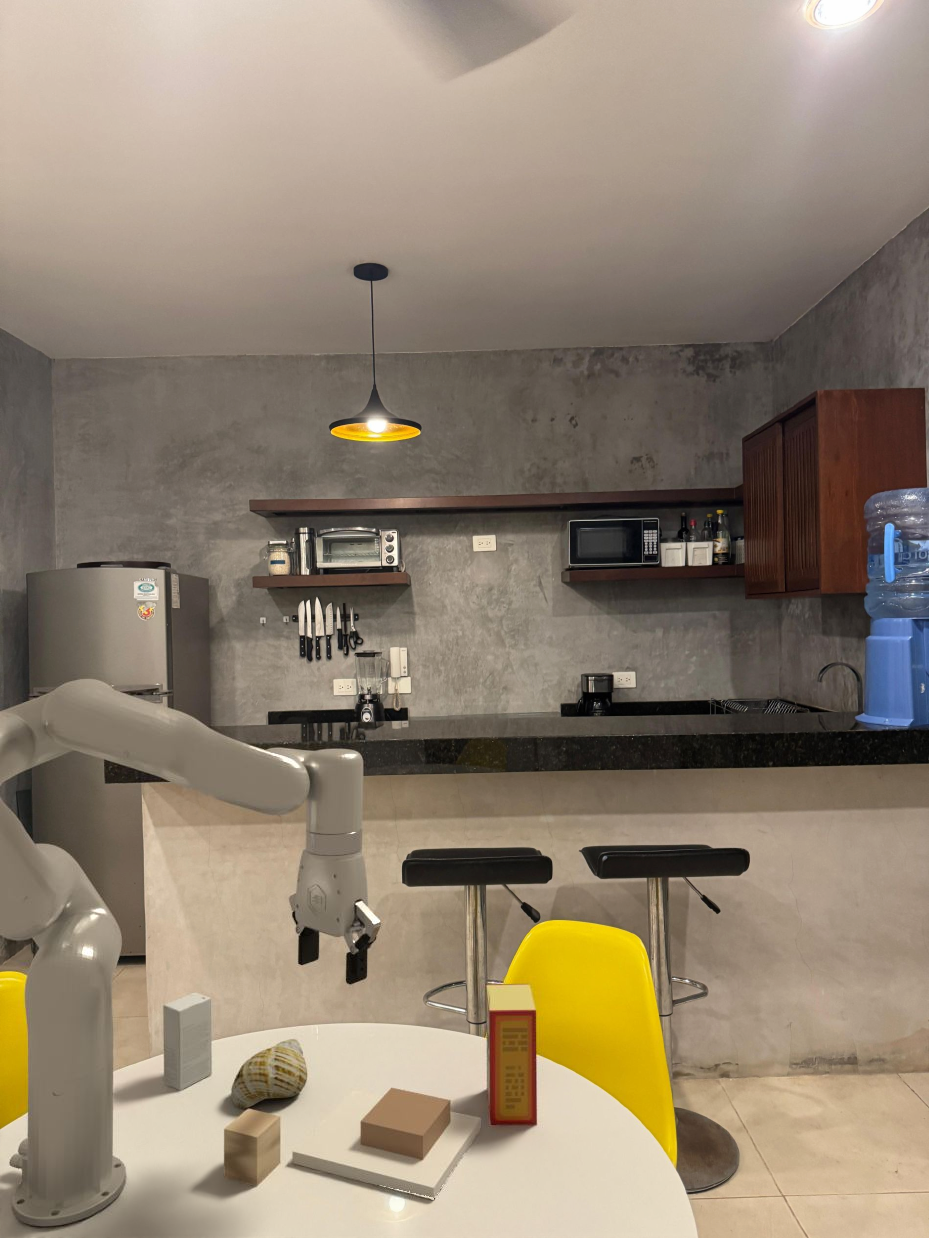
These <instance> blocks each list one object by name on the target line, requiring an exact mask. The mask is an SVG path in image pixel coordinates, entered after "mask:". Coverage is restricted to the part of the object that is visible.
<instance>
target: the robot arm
mask: <svg viewBox="0 0 929 1238" xmlns="http://www.w3.org/2000/svg"><path fill="white" fill-rule="evenodd" d="M73 751H76V752H78V753H82V754H85V755H89V756H92V757H95V758H98V759H101V760H106V761H109V762H112V763H116V764H118V765H121V766H125V767H127V768H132V769H135V770H138V771H141V772H143V773H147V774H150V775H153V776H156V777H158V778H161V779H164V780H166V781H169V782H170V783H172V784H175V785H178V786H181V787H183V788H186V789H189V790H192V791H194V792H197V793H199V794H202V795H205V796H207V797H210V798H212V799H215V800H218V801H219V802H220V801H221V802H224V803H227V804H230V805H233V806H236V807H241V808H243V809H247V810H250V811H253V812H256V813H259V814H264V815H269V816H285V815H288V814H291V813H293V812H295V811H297V810H298V809H299V808H300V807H301V806H303V804H304V802H305V803H306V804H305V805H306V809H305V814H306V815H305V849H303V850H302V852H301V856H300V860H299V866H298V872H297V877H296V878H297V880H296V891H295V893H293V894H291V895H290V896H289V897H288V901H289V905H290V909H291V911H292V912H291V918H292V919H293V921H294V924H295V927H294V928H295V932H296V934H297V935H298V939H297V940H298V943H297V949H298V951H297V953H298V954H297V964H298V965H300V966H305V965H307V964H310V963H313V962H317V960H319V958H320V933H323V934H325V935H327V936H331V937H334V938H340V937H343V938H344V941H345V942H346V945H347V947H348V950H349V951H348V952H346V955H345V956H346V957H345V983H346V984H348V985H349V986H350V985H353V984H355V983H358V982H361V981H364V980H366V979H367V977H368V950H369V949H371V948H372V945H373V944H374V943H375V942H376V940H377V936H378V934H379V930H380V928H381V925H382V923H381V920H380V919H379V918H378V917H377V916H376V915H375V914H374V913H373V911H372V910H371V909H370V908H369V906H368V905H369V898H368V897H369V895H368V894H369V893H368V879H367V871H366V870H367V869H366V863H365V862H366V861H365V856H364V854H363V815H364V813H363V810H364V809H363V807H364V806H363V805H364V803H363V802H364V801H363V800H364V760H363V757H362V754H361V753H360V752H359V751H356V750H354V749H347V748H326V749H325V748H324V749H319V750H318V749H317V750H304V749H296V748H288V747H287V748H286V747H270V748H267V749H263V748H260V747H257V746H255V745H251V744H248V743H245V742H242V741H239V740H236V739H234V738H231V737H228V736H227V735H224V734H222V733H220V732H219V731H218V732H217V731H216V730H214V729H212V728H210V727H208V726H207V725H206V724H204V723H202V722H201V721H200V720H198V719H197V718H195V717H193V716H191V715H189V714H187V713H186V712H183V711H180V710H177V709H174V708H171V707H167V706H165V705H161V704H157V703H154V702H152V701H151V702H150V701H147V700H145V699H143V698H139V697H137V696H136V697H135V696H132V695H129V694H128V693H126V692H122V691H118V690H115V689H114V688H113V687H112V686H111V685H109V684H108V683H106V682H104V681H102V680H99V679H95V678H79V679H76V680H71V681H67V682H65V683H63V684H61V685H60V686H57V688H55V689H54V690H53V691H50V692H47V693H46V694H43V695H40V696H37V697H35V698H32V699H31V700H27V701H25V702H22V703H20V704H17V705H13V706H11V707H9V708H6V709H3V710H0V786H2V784H3V783H4V782H6V781H7V780H10V779H11V778H13V777H14V776H16V775H19V774H20V773H23V772H24V771H27V770H29V769H32V768H34V767H37V766H39V765H42V764H44V763H46V762H49V761H51V760H54V759H56V758H58V757H61V756H64V755H66V754H69V753H71V752H73ZM354 934H356V935H357V936H358V937H357V938H358V939H357V940H356V938H355V936H354ZM0 936H1V937H3V938H4V939H8V940H11V941H25V940H29V939H33V942H35V944H36V946H37V947H38V948H39V949H37V952H36V954H35V955H34V957H33V958H32V960H31V964H30V966H29V967H28V972H27V974H26V978H25V986H24V1007H25V1016H26V1017H25V1018H26V1026H27V1076H28V1077H27V1137H26V1138H24V1139H23V1140H22V1141H21V1142H20V1144H19V1146H18V1148H17V1153H14V1154H13V1155H12V1156H11V1158H9V1167H13V1168H14V1169H20V1170H21V1182H20V1183H19V1184H18V1185H17V1187H16V1188H15V1190H14V1191H13V1195H12V1198H11V1199H12V1200H11V1201H12V1202H11V1203H12V1206H11V1209H12V1212H13V1215H14V1216H15V1218H16V1219H17V1220H19V1221H21V1222H22V1223H24V1224H28V1225H30V1226H35V1227H55V1226H63V1225H66V1224H72V1223H75V1222H78V1221H80V1220H83V1219H86V1218H88V1217H90V1216H92V1215H94V1214H96V1213H98V1212H99V1211H101V1210H104V1208H106V1207H107V1206H108V1205H109V1204H111V1203H113V1201H114V1200H115V1199H116V1198H117V1197H118V1196H119V1195H120V1194H121V1192H122V1191H123V1189H124V1187H125V1185H126V1181H127V1171H126V1170H127V1168H126V1166H125V1164H124V1162H123V1161H122V1160H121V1159H120V1158H118V1157H116V1156H114V1154H113V1153H114V1152H113V1149H114V1147H113V1145H114V1143H113V1142H114V1137H113V1136H114V1135H113V1134H114V1133H113V1132H114V1130H113V1129H114V1128H113V1127H114V1015H113V1012H114V1009H113V988H114V987H113V983H114V977H115V973H116V969H117V965H118V961H119V958H120V955H121V952H122V945H123V938H122V932H121V928H120V927H119V924H118V922H117V921H116V919H115V917H114V915H113V914H112V912H111V911H110V909H109V907H108V906H107V904H106V903H105V901H104V900H103V898H102V897H101V895H100V894H99V892H98V891H97V890H96V888H95V886H94V885H93V884H92V882H91V881H90V879H89V877H88V876H87V874H86V873H85V872H84V870H83V868H82V867H81V866H80V864H79V863H78V862H77V860H76V859H75V858H74V857H73V856H72V855H71V854H70V853H69V852H67V851H66V850H64V849H63V848H62V847H59V846H57V845H54V844H49V843H35V842H34V841H33V839H32V838H31V836H30V835H29V833H28V832H27V831H26V829H25V827H24V826H23V823H22V822H21V820H20V819H19V818H18V816H17V815H16V814H15V813H14V812H13V811H12V810H11V808H10V807H8V805H7V804H6V803H5V802H4V801H3V798H2V797H1V796H0Z"/></svg>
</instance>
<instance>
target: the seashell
mask: <svg viewBox="0 0 929 1238" xmlns="http://www.w3.org/2000/svg"><path fill="white" fill-rule="evenodd" d="M307 1081H308V1066H307V1063H306V1060H305V1057H304V1052H303V1049H302V1047H301V1044H300V1043H299V1041H298V1039H296V1038H290V1039H287V1040H284V1041H283V1040H282V1041H280V1042H279V1043H276V1044H275V1045H274V1046H271V1047H269V1048H265V1049H263V1050H261V1051H258V1052H257V1053H255V1054H254V1055H252V1056H251V1057H250V1058H249V1059H247V1060H246V1061H245V1062H244V1063H243V1064H242V1065H241V1066H240V1068H239V1070H238V1072H237V1074H236V1076H235V1078H234V1081H233V1083H232V1086H231V1090H230V1091H231V1099H232V1103H233V1105H234V1106H235V1107H237V1108H238V1109H242V1110H244V1109H249V1108H250V1107H252V1106H254V1105H256V1104H258V1103H259V1102H261V1101H264V1100H265V1099H267V1100H268V1099H285V1098H291V1097H294V1096H297V1095H299V1094H300V1093H301V1092H302V1090H303V1089H304V1088H305V1085H306V1083H307Z"/></svg>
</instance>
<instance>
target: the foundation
mask: <svg viewBox="0 0 929 1238" xmlns="http://www.w3.org/2000/svg"><path fill="white" fill-rule="evenodd" d="M481 1130H482V1118H481V1117H477V1116H474V1115H473V1116H472V1115H468V1114H463V1113H459V1112H454V1111H451V1099H448V1098H447V1099H446V1098H441V1097H437V1096H433V1095H429V1094H428V1095H427V1094H423V1093H418V1092H414V1091H409V1090H405V1089H401V1088H395V1087H391V1088H390V1089H389V1090H388V1091H387V1092H386V1093H385V1094H384V1095H383V1096H381V1095H377V1094H373V1093H367V1092H363V1091H359V1090H355V1089H354V1090H352V1091H351V1092H350V1093H349V1094H348V1095H347V1096H346V1097H345V1098H344V1099H343V1100H342V1101H341V1102H340V1103H339V1104H338V1105H337V1106H336V1107H335V1108H334V1109H333V1110H332V1111H331V1112H330V1113H329V1114H328V1115H327V1116H326V1117H325V1118H324V1120H322V1121H321V1122H319V1124H318V1125H317V1126H316V1127H314V1129H313V1130H312V1131H311V1132H310V1133H309V1134H308V1135H307V1136H306V1137H305V1138H304V1139H303V1140H302V1141H301V1142H300V1143H299V1144H298V1145H297V1146H296V1147H295V1148H294V1149H293V1150H292V1160H291V1161H292V1164H295V1165H298V1166H302V1167H306V1168H309V1169H313V1170H317V1171H320V1172H323V1173H324V1172H325V1173H329V1174H332V1175H334V1176H335V1175H337V1176H340V1177H343V1178H347V1179H351V1180H355V1181H358V1180H359V1181H358V1182H363V1183H366V1182H368V1183H367V1184H369V1183H372V1184H371V1185H373V1184H376V1185H375V1186H377V1185H379V1186H378V1187H381V1186H380V1185H382V1186H386V1187H390V1188H393V1189H399V1190H403V1191H407V1192H409V1191H410V1193H416V1194H419V1195H424V1196H425V1195H426V1196H429V1197H433V1198H434V1197H435V1196H436V1195H437V1193H438V1192H439V1190H440V1188H441V1187H442V1185H443V1184H444V1183H445V1181H446V1180H447V1178H448V1177H449V1175H450V1174H451V1172H452V1171H453V1170H454V1171H455V1169H456V1168H457V1166H458V1165H457V1163H458V1162H459V1161H460V1162H461V1160H462V1159H463V1157H464V1156H465V1154H466V1153H467V1151H468V1150H469V1148H470V1147H471V1145H472V1144H473V1142H474V1140H475V1139H476V1137H477V1136H478V1135H479V1133H480V1131H481ZM469 1146H470V1147H469ZM465 1152H466V1153H465ZM464 1153H465V1154H464ZM463 1155H464V1156H463ZM462 1156H463V1157H462ZM461 1158H462V1159H461ZM460 1159H461V1160H460ZM460 1162H459V1163H460ZM459 1163H458V1164H459ZM456 1165H457V1166H456ZM455 1167H456V1168H455ZM454 1168H455V1169H454ZM454 1171H453V1172H454ZM453 1172H452V1173H453ZM451 1175H452V1174H451ZM451 1175H450V1176H451ZM449 1178H450V1177H449ZM449 1178H448V1179H449ZM447 1181H448V1180H447ZM447 1181H446V1182H447ZM445 1184H446V1183H445ZM445 1184H444V1185H445ZM442 1188H443V1187H442ZM440 1191H441V1190H440ZM439 1193H440V1192H439ZM437 1196H438V1195H437Z"/></svg>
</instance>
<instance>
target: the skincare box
mask: <svg viewBox="0 0 929 1238" xmlns="http://www.w3.org/2000/svg"><path fill="white" fill-rule="evenodd" d="M162 1007H163V1008H162V1009H163V1010H162V1011H163V1015H162V1016H163V1082H164V1083H163V1084H165V1085H167V1086H169V1087H172V1088H173V1089H176V1090H177V1091H179V1092H181V1091H182V1090H184V1089H187V1088H188V1087H190V1086H192V1085H193V1084H195V1083H198V1082H199V1081H201V1080H202V1081H203V1080H204V1079H205V1078H208V1077H209V1076H211V1075H212V1073H213V1072H212V1071H213V1069H212V1068H213V1066H212V1065H213V1063H212V1061H213V1060H212V1059H213V1058H212V1057H213V1055H212V1052H213V1051H212V1047H213V1045H212V1042H213V1041H212V1040H213V1039H212V1038H213V1037H212V998H211V997H209V996H206V995H204V994H201V993H199V992H196V991H195V992H192V993H190V994H188V995H185V996H183V997H179V998H177V999H175V1000H173V1001H169V1002H167V1003H165V1004H163V1005H162Z"/></svg>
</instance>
